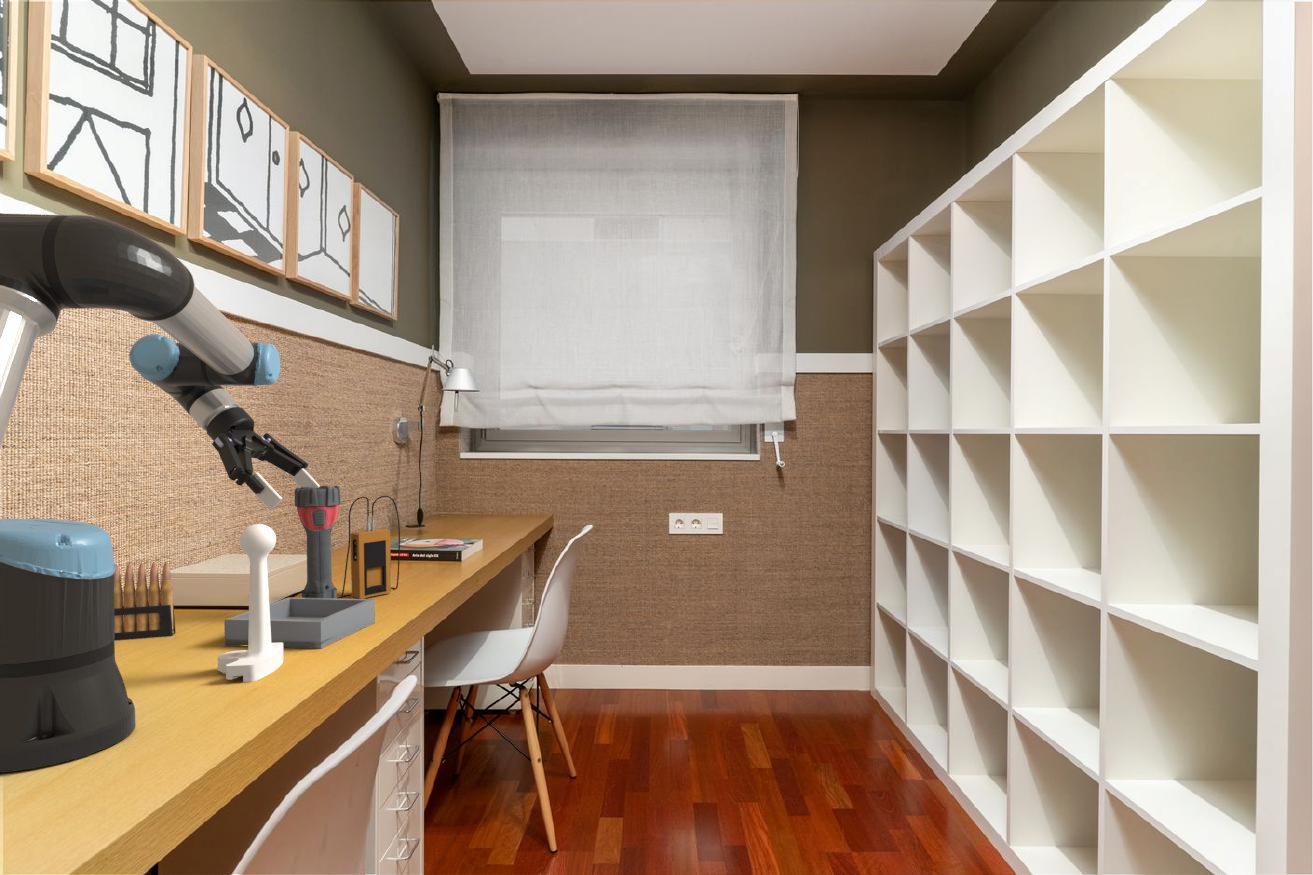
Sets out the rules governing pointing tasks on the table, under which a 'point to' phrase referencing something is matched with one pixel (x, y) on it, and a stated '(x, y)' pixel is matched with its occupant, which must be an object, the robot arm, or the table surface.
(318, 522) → the flashlight
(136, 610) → the ammunition clip
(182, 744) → the table surface
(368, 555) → the multimeter
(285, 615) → the tray
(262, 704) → the table surface
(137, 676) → the table surface
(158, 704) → the table surface
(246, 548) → the joystick
